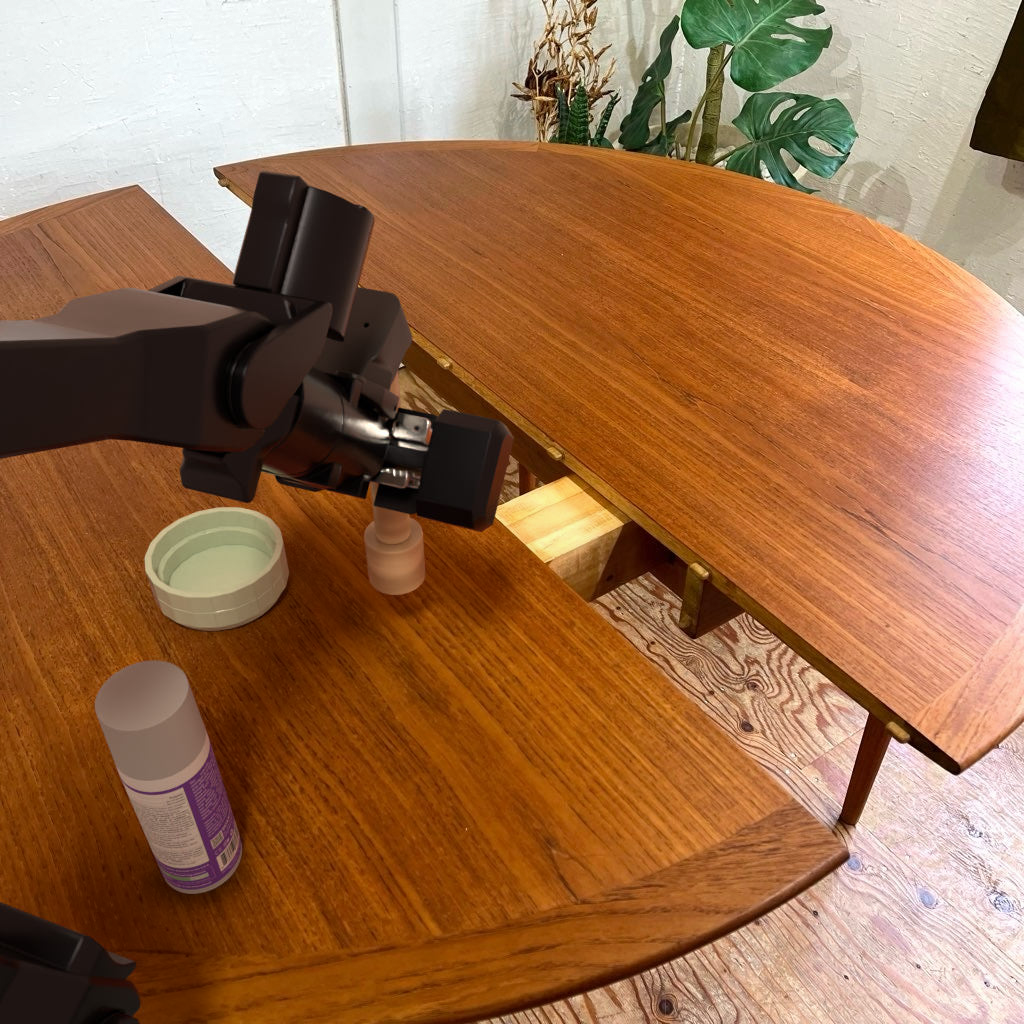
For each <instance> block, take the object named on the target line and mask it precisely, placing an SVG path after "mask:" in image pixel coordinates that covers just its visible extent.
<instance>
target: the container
mask: <svg viewBox="0 0 1024 1024" xmlns="http://www.w3.org/2000/svg"><path fill="white" fill-rule="evenodd" d="M94 711H95V715H96V717H97V720H98V722H99V725H100V728H101V730H102V732H103V736H104V739H105V741H106V744H107V747H108V749H109V751H110V755H111V756H112V759H113V761H114V762H113V763H114V764H115V767H116V771H117V773H118V775H119V778H120V780H121V782H122V785H123V788H124V789H125V791H126V793H127V797H128V798H129V801H130V803H131V806H132V808H133V810H134V812H135V814H136V817H137V819H138V822H139V824H140V826H141V829H142V832H143V833H144V835H145V838H146V840H147V842H148V845H149V847H150V850H151V852H152V854H153V856H154V859H155V861H156V864H157V866H158V868H159V871H160V874H161V875H162V877H163V879H164V881H165V883H167V885H168V886H169V887H170V888H172V889H173V890H175V891H177V892H180V893H183V894H189V895H190V894H192V895H197V894H202V893H203V894H204V893H207V892H210V891H212V890H214V889H216V888H218V887H220V886H221V885H222V884H224V883H225V882H227V881H228V880H229V879H230V878H231V877H232V875H234V873H235V872H236V870H237V868H238V867H239V865H240V862H241V859H242V855H243V843H242V840H241V836H240V832H239V829H238V826H237V823H236V819H235V817H234V813H233V810H232V806H231V804H230V800H229V797H228V794H227V791H226V787H225V785H224V781H223V778H222V775H221V771H220V769H219V765H218V763H217V759H216V755H215V752H214V750H213V747H212V743H211V740H210V737H209V735H208V732H207V729H206V726H205V723H204V721H203V718H202V715H201V713H200V710H199V707H198V704H197V701H196V698H195V695H194V693H193V690H192V688H191V685H190V682H189V679H188V676H187V675H186V673H185V672H184V671H183V670H182V669H181V668H180V667H179V666H178V665H176V664H174V663H172V662H169V661H164V660H156V659H155V660H154V659H153V660H143V661H139V662H135V663H132V664H129V665H127V666H124V667H122V668H121V669H120V670H118V671H115V672H114V673H113V674H112V675H111V676H109V677H108V678H107V679H106V681H104V683H103V684H102V685H101V687H100V688H99V690H98V692H97V693H96V696H95V701H94Z"/></svg>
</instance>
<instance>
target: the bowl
mask: <svg viewBox="0 0 1024 1024" xmlns="http://www.w3.org/2000/svg"><path fill="white" fill-rule="evenodd" d="M144 570H145V574H146V578H147V581H148V583H149V587H150V590H151V593H152V596H153V599H154V602H155V604H156V605H157V607H158V608H159V610H160V611H161V613H162V614H163V615H164V616H166V617H167V618H168V619H170V620H171V621H174V622H175V623H177V624H179V625H181V626H184V627H185V628H189V629H192V630H197V631H204V632H216V631H225V630H230V629H235V628H238V627H241V626H244V625H247V624H249V623H250V622H253V621H255V620H257V619H258V618H260V617H261V616H263V615H265V613H267V612H268V611H269V610H270V609H271V608H272V607H273V606H274V605H275V604H276V603H277V601H278V600H279V598H280V596H281V595H282V593H283V591H284V590H286V588H287V583H288V579H289V575H290V570H289V565H288V559H287V554H286V549H285V544H284V539H283V535H282V530H281V529H280V527H279V526H278V525H277V523H275V522H274V520H273V519H272V518H271V517H268V516H267V515H265V514H264V513H262V512H259V511H257V510H253V509H248V508H244V507H238V506H219V507H213V508H209V509H203V510H198V511H196V512H193V513H190V514H187V515H185V516H183V517H180V518H178V519H176V520H175V521H174V522H171V523H170V524H168V526H165V527H164V528H163V529H161V530H160V531H159V533H158V534H157V535H156V536H155V537H154V538H153V539H152V541H151V542H150V543H149V545H148V548H147V550H146V553H145V555H144Z"/></svg>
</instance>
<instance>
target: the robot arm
mask: <svg viewBox="0 0 1024 1024" xmlns="http://www.w3.org/2000/svg"><path fill="white" fill-rule="evenodd" d="M375 220H376V218H375V217H374V215H373V213H372V212H371V211H370V209H368V208H367V207H365V206H364V205H361V204H356V203H353V202H351V201H349V200H348V199H345V198H343V197H342V196H339V195H337V194H335V193H332V192H329V191H327V190H325V189H321V188H318V187H316V186H312V185H309V184H308V183H307V182H306V181H305V180H304V179H303V178H302V177H301V176H300V175H296V174H291V173H283V172H275V171H269V170H261V171H259V174H258V178H257V181H256V185H255V189H254V193H253V196H252V203H251V210H250V213H249V217H248V220H247V225H246V228H245V232H244V236H243V240H242V242H241V247H240V251H239V254H238V258H237V262H236V266H235V269H234V273H233V277H232V281H231V284H228V283H223V282H218V281H212V280H207V279H201V278H195V277H191V276H184V275H176V276H175V277H173V278H170V279H168V280H167V281H164V282H163V283H160V284H158V285H156V286H154V287H152V288H149V289H148V290H147V289H146V290H145V289H139V288H134V287H122V288H118V289H117V288H116V289H113V290H107V291H104V292H100V293H99V292H98V293H96V294H89V295H87V296H81V297H78V298H77V297H76V298H73V299H69V301H68V302H67V303H65V304H64V305H63V307H61V308H60V309H59V310H58V312H56V313H55V314H52V315H47V316H43V317H39V318H34V319H29V320H28V319H27V320H24V319H23V320H22V319H21V320H20V319H19V320H18V319H17V320H14V319H13V320H12V319H11V320H8V319H7V320H5V319H4V320H3V319H2V320H0V460H3V459H7V458H12V457H18V456H24V455H30V454H35V453H41V452H47V451H52V450H58V449H63V448H69V447H75V446H80V445H85V444H91V443H98V442H103V441H109V440H114V441H127V442H138V443H144V444H151V445H158V446H166V447H172V448H173V447H174V448H179V449H182V452H181V453H182V458H181V463H180V466H179V475H180V482H181V486H182V487H183V488H184V489H186V490H190V491H195V492H198V493H203V494H207V495H212V496H215V497H219V498H222V499H223V498H224V499H227V500H230V501H231V500H232V501H236V502H240V503H243V504H250V503H252V502H253V501H254V499H255V496H256V493H257V489H258V485H259V481H260V478H261V475H262V473H264V474H268V475H273V476H274V478H275V480H276V481H277V483H278V484H280V485H283V486H287V487H292V488H295V489H300V490H304V491H308V492H313V493H317V492H321V491H328V492H332V493H335V494H341V495H345V496H349V497H353V498H359V499H362V500H367V495H368V492H369V487H370V482H374V483H379V485H378V489H377V493H376V497H375V501H374V506H376V507H381V508H385V509H389V510H394V511H398V512H402V513H406V514H410V515H416V517H419V518H421V519H426V520H429V521H431V522H436V523H440V524H443V525H444V524H445V525H449V526H452V527H457V528H460V529H461V528H462V529H465V530H470V531H475V532H478V533H483V532H484V531H486V530H487V529H489V528H491V527H492V526H493V525H494V522H495V518H496V513H497V511H498V506H499V502H500V498H501V494H502V489H503V485H504V483H505V478H506V473H507V469H508V465H509V461H510V457H511V454H512V449H513V445H514V441H515V437H514V435H513V434H512V432H511V431H510V429H509V427H508V426H507V425H506V424H505V423H504V422H502V421H501V420H500V419H495V418H491V417H486V416H481V415H476V414H470V413H466V412H461V411H456V410H451V409H447V408H446V409H445V408H442V410H441V411H440V412H439V414H438V415H436V414H433V413H429V412H425V411H424V412H423V411H419V410H418V411H417V410H413V409H408V408H403V407H401V408H398V410H397V406H398V402H399V397H398V396H396V395H395V394H393V393H392V392H390V387H391V384H392V382H393V380H394V378H395V376H396V374H397V371H398V372H399V369H400V367H401V364H402V362H403V359H404V357H405V355H406V352H407V350H408V349H410V347H411V345H412V342H413V333H412V331H411V328H410V325H409V323H408V320H407V317H406V314H405V312H404V309H403V306H402V303H401V301H400V298H399V297H398V296H397V295H396V294H394V293H392V292H389V291H385V290H378V289H373V288H367V287H361V286H359V285H360V281H361V277H362V273H363V270H364V266H365V262H366V258H367V254H368V250H369V246H370V242H371V239H372V234H373V231H374V227H375V222H376V221H375ZM396 410H397V413H396ZM386 418H387V420H386ZM389 437H391V438H389ZM137 964H138V963H137V961H135V960H132V959H130V958H127V957H124V956H122V955H120V954H117V953H115V952H112V951H109V950H107V949H106V948H105V947H104V946H103V945H101V944H100V943H99V942H98V941H97V940H95V939H94V937H91V936H89V935H87V934H84V933H82V932H79V931H76V930H74V929H71V928H69V927H66V926H63V925H62V924H59V923H56V922H53V921H51V920H48V919H45V918H43V917H41V916H38V915H35V914H33V913H30V912H28V911H25V910H22V909H20V908H17V907H15V906H12V905H10V904H6V903H5V902H2V901H0V1024H141V1023H140V1021H139V1019H138V1018H136V1017H134V1015H136V1013H137V1012H138V1011H139V1010H140V1009H141V998H140V992H139V989H138V988H137V986H136V985H135V984H134V983H133V981H131V980H128V978H129V977H130V975H131V974H133V972H134V971H135V970H136V969H137V966H138V965H137Z"/></svg>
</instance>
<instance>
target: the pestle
mask: <svg viewBox="0 0 1024 1024" xmlns="http://www.w3.org/2000/svg"><path fill="white" fill-rule="evenodd" d="M390 392H392V393H393V394H395V395H396V396H398V397H399V402H398V406H397V410H398V408H402V403H401V394H400V393H401V391H400V377H399V370H398V371H397V374H396V376H395V378H394V380H393V382H392V384H391V387H390ZM397 410H396V413H397ZM386 420H387V418H386ZM389 438H391V437H389ZM378 485H379V483H374V482H370V484H369V487H370V489H369V490H370V496H371V504H372V506H371V507H372V514H373V515H372V516H373V521H371V522H370V523H369V524H368V525H367V526H366V528H365V529H364V533H363V541H364V550H365V559H366V565H367V574H368V580H369V583H370V585H371V586H372V587H373V588H374V589H375V590H376V591H378V592H379V593H382V594H384V595H389V596H401V595H405V594H409V593H412V592H413V591H415V590H417V589H418V588H419V587H420V586H422V584H423V583H424V581H425V578H426V573H427V572H426V561H425V559H426V558H425V546H424V533H423V527H422V526H421V524H420V523H419V522H418V521H417V520H415V519H414V518H412V517H410V515H411V514H406V513H402V512H398V511H394V510H389V509H385V508H381V507H376V506H374V501H375V497H376V493H377V489H378Z"/></svg>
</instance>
